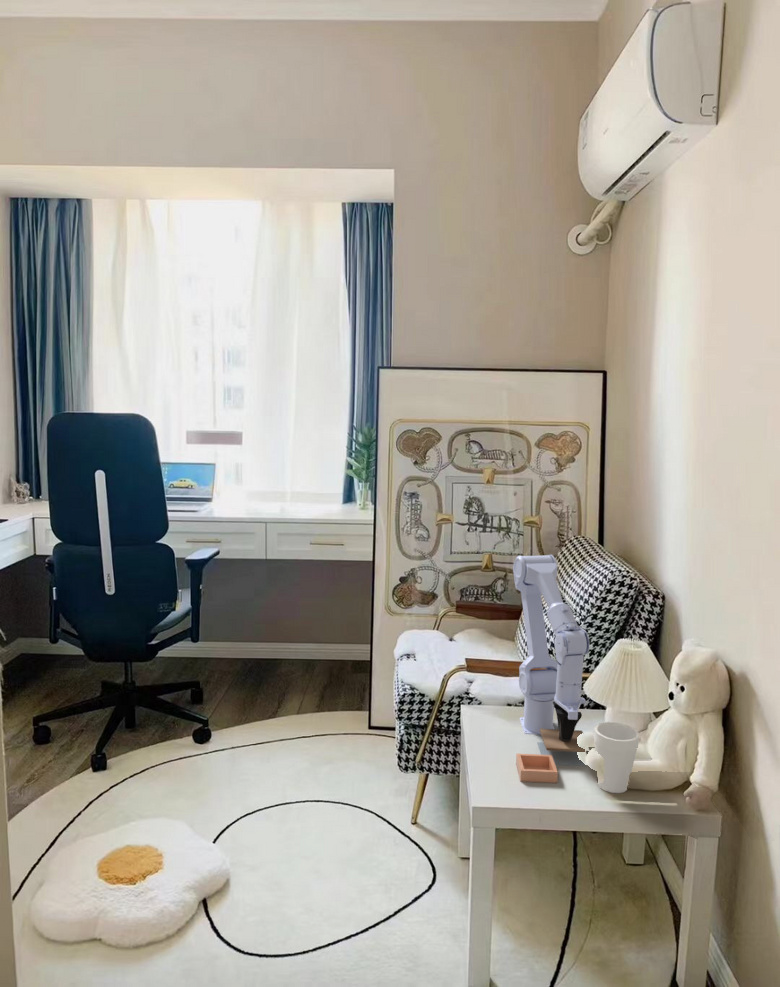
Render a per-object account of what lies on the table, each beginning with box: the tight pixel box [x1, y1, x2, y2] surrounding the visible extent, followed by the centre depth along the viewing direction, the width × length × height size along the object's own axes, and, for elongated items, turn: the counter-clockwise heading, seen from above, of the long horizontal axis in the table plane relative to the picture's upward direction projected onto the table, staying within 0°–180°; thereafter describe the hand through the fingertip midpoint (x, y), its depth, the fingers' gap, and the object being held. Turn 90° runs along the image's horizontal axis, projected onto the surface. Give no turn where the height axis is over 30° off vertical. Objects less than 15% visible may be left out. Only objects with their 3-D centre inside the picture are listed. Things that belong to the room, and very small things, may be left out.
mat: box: [536, 741, 586, 767], centre depth 193 cm, size 11×11×1 cm
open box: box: [515, 753, 559, 784], centre depth 183 cm, size 8×8×3 cm
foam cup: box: [593, 721, 640, 794], centre depth 178 cm, size 10×9×13 cm
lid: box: [540, 728, 585, 752], centre depth 193 cm, size 10×10×5 cm
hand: (565, 735), depth 193 cm, fingers closed on lid, 3 cm apart
